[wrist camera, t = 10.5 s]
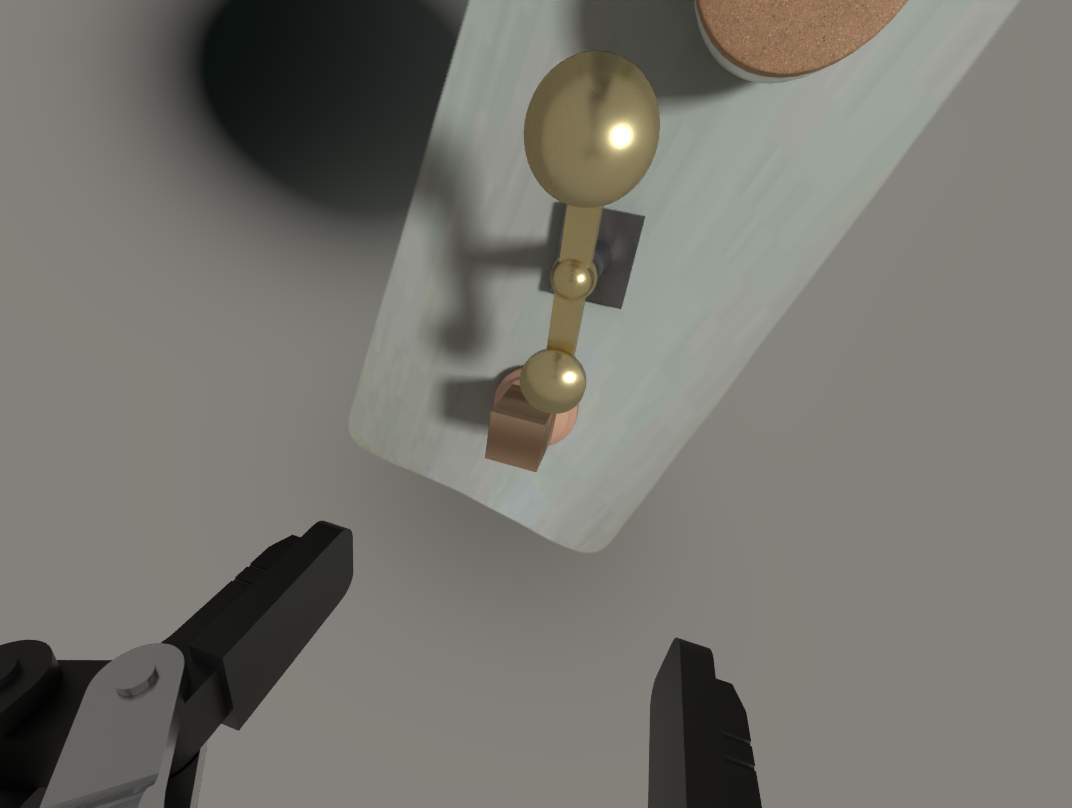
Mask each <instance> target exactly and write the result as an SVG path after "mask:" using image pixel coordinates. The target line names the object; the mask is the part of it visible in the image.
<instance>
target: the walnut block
mask: <svg viewBox="0 0 1072 808" xmlns="http://www.w3.org/2000/svg"><path fill="white" fill-rule="evenodd" d="M555 418H556V414H550V413H545V412H542V411H540V410H538V409H536V408H535V407H533V406H532V405H531V404H530V403H529V402H528V401H527V400H526V399H525V397H524V395H523V393H522V391H521V388H520V386H519V385H515V384H512V385H511V386H510V388H509V389H508V390H507V391H506V393H505V394H504V395H503V397H502V398H501V399H500V400H499V402H498V403H497V404H496V405H495V407H494V408H493V409H492V411H491V415H490V423H489V431H488V438H487V446H486V454H485V458H487V459H491V460H494V461H498V462H501V463H505V464H508V465H512V466H516V467H519V468H523V469H526V470H530V471H534V472H537V469H538V467H539V465H540V463H541V460H542V458H543V456H544V454H545V451H546V449H547V447H548V445H549V443H550V440H551V438H552V433H553V428H554V423H555Z"/></svg>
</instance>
